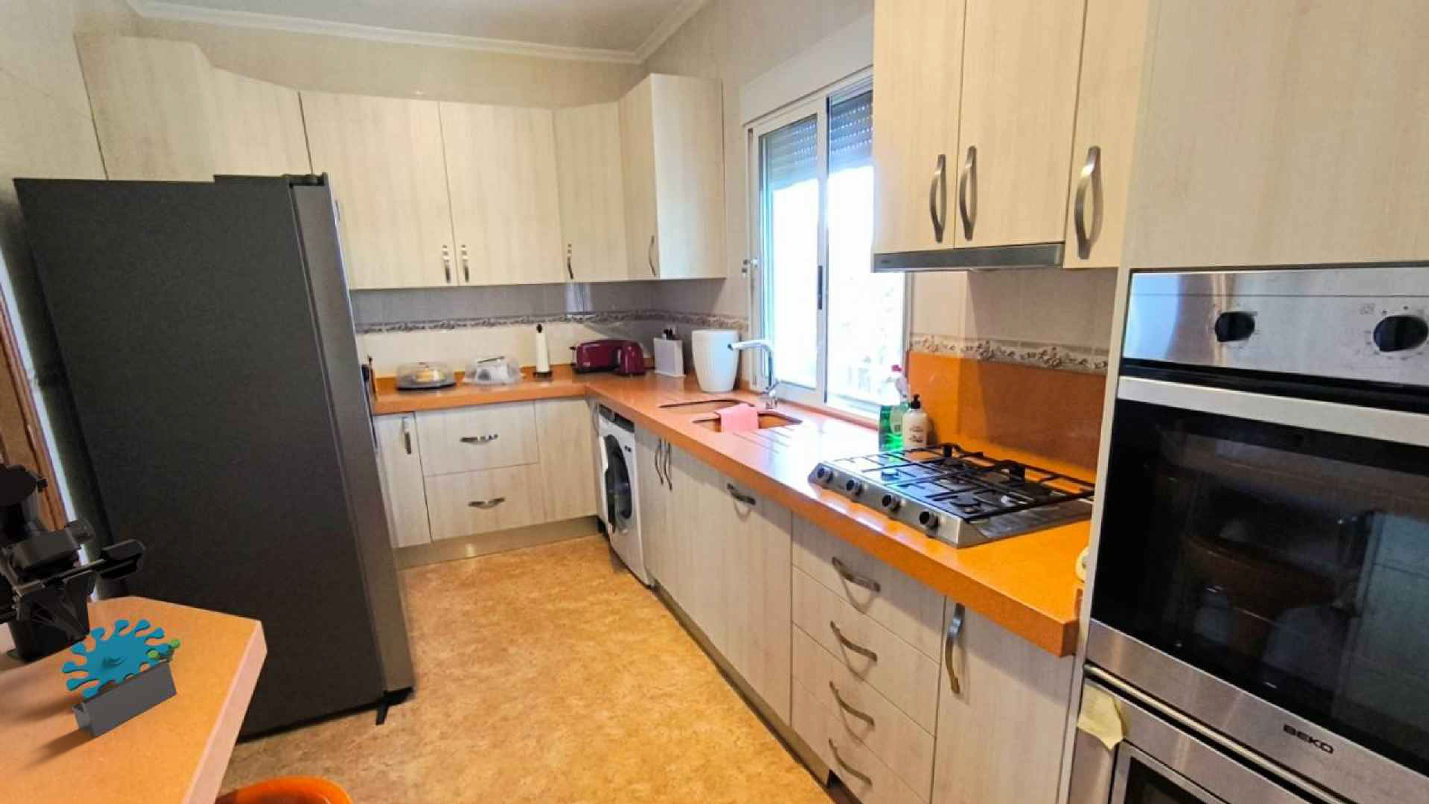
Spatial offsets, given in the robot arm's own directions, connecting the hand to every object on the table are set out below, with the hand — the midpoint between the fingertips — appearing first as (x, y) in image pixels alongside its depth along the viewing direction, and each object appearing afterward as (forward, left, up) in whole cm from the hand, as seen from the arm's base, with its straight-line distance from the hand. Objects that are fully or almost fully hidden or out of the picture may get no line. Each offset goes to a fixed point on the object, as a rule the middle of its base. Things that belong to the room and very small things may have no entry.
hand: (85, 634), depth 79 cm
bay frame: (+12, -2, -7) cm, 14 cm away
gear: (+4, +1, -7) cm, 8 cm away
